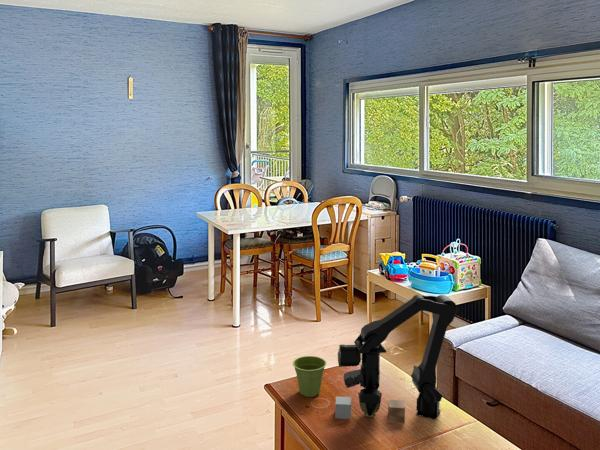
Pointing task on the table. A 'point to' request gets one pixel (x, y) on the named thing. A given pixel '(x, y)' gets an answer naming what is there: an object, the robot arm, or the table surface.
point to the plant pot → (309, 374)
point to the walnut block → (396, 411)
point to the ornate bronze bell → (363, 408)
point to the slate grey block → (343, 407)
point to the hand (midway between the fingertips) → (369, 410)
